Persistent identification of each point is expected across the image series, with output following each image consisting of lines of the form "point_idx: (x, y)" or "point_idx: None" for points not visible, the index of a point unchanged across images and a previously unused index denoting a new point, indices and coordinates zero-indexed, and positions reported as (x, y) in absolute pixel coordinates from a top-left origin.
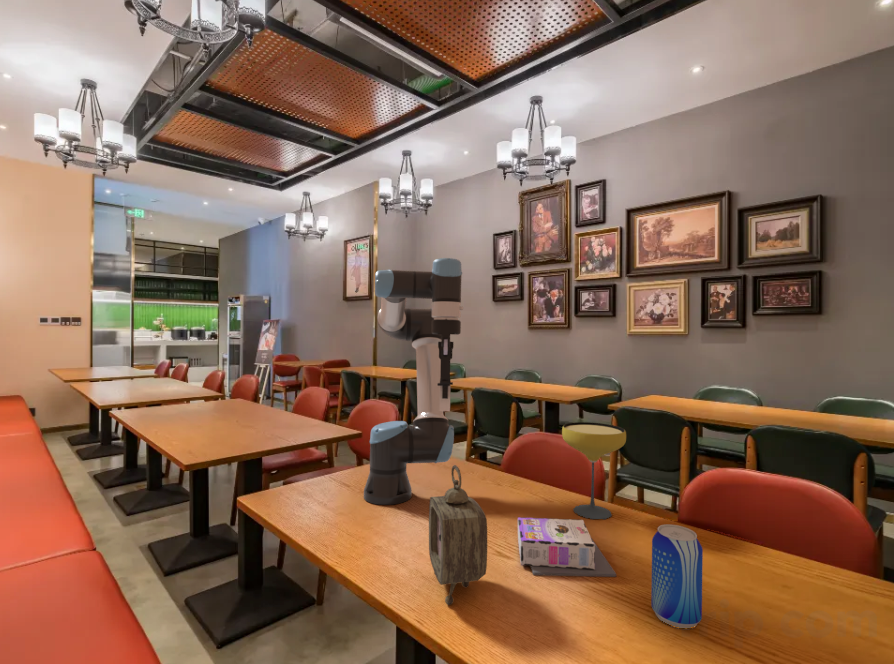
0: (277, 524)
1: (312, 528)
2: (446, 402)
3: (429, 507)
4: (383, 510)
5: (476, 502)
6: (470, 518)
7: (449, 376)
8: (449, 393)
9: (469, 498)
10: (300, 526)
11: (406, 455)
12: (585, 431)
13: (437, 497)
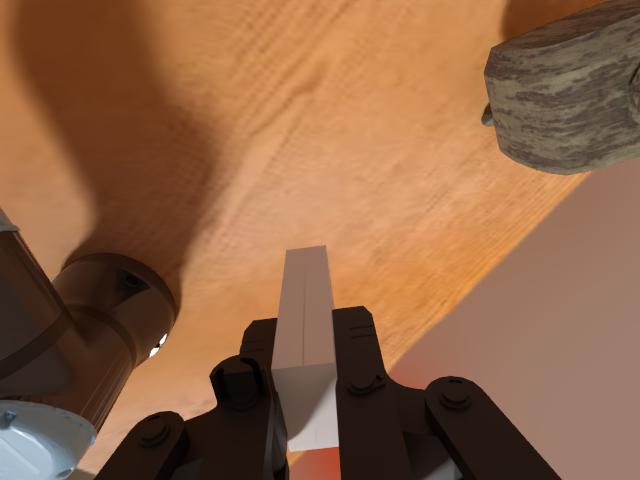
0: None
1: None
2: (331, 298)
3: (540, 170)
4: (202, 292)
5: (627, 20)
6: None
7: (537, 458)
8: (331, 320)
9: (624, 46)
10: None
11: (75, 328)
12: None
13: (609, 151)
